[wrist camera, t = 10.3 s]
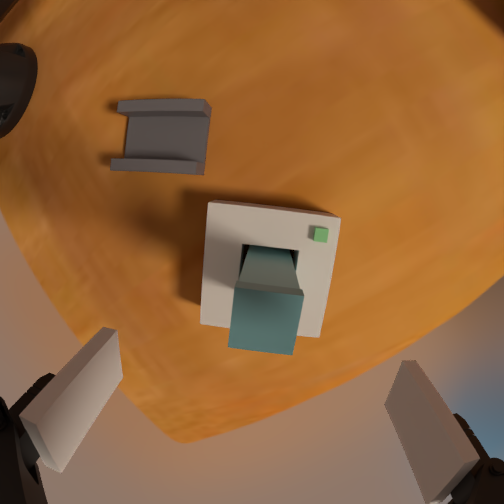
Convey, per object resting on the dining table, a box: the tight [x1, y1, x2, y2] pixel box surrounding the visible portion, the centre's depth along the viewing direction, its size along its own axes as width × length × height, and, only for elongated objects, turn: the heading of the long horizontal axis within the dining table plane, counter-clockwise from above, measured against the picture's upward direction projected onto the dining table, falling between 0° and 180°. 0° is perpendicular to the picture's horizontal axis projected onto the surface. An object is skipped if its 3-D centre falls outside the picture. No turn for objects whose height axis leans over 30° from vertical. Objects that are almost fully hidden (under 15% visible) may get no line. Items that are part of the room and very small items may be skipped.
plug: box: [228, 245, 304, 355], centre depth 25 cm, size 4×4×14 cm
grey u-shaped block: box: [110, 99, 212, 175], centre depth 28 cm, size 9×7×4 cm
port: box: [200, 200, 341, 337], centre depth 30 cm, size 12×12×5 cm
